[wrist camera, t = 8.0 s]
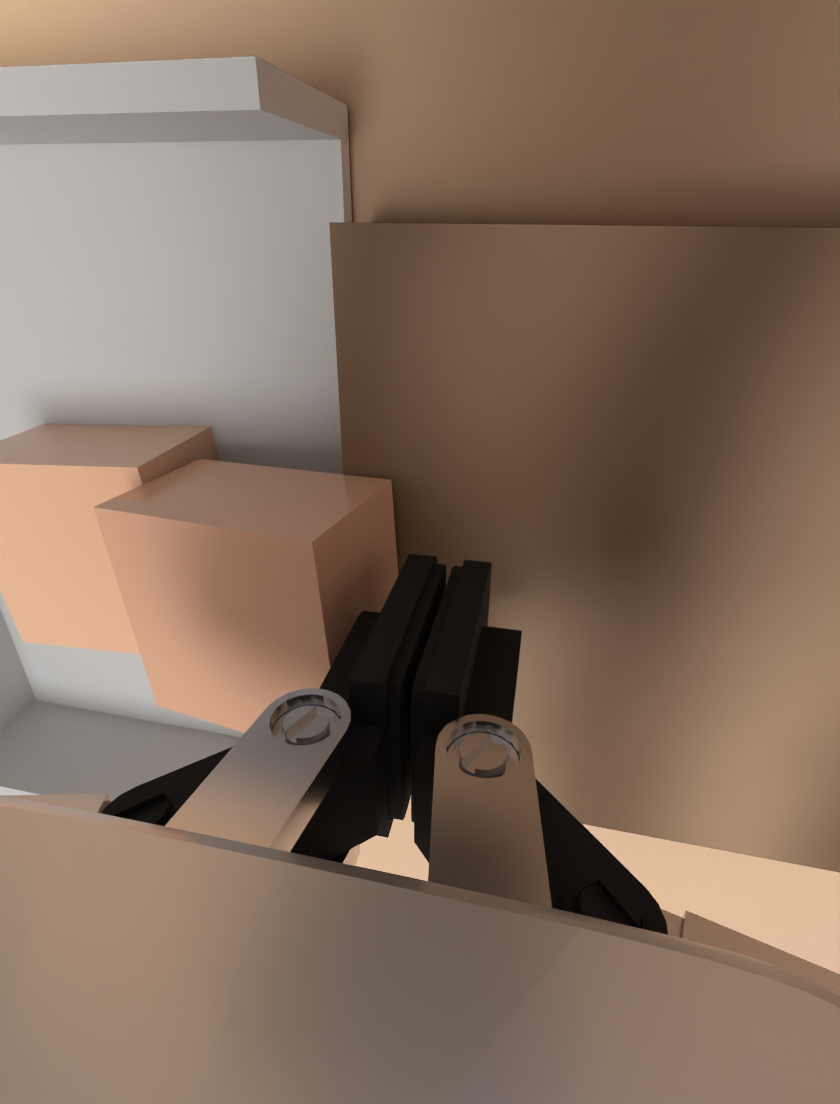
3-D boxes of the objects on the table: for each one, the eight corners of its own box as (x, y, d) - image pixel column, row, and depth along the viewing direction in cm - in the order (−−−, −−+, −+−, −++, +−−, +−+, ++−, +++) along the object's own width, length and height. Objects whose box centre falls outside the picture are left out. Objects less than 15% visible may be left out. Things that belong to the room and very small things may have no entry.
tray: (347, 104, 12) (255, 55, 8) (373, 761, 20) (332, 870, 17) (-189, 119, 14) (-433, 85, 11) (37, 700, 23) (-58, 785, 19)
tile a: (391, 479, 12) (311, 541, 10) (405, 674, 15) (344, 764, 12) (199, 459, 14) (92, 507, 12) (238, 634, 16) (156, 705, 14)
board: (1178, 231, 10) (1342, 233, 8) (869, 801, 17) (913, 886, 15) (370, 222, 13) (329, 221, 10) (383, 719, 19) (359, 781, 17)
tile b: (211, 425, 15) (136, 467, 13) (248, 595, 17) (192, 659, 15) (43, 424, 16) (-57, 462, 14) (99, 583, 18) (23, 642, 16)
